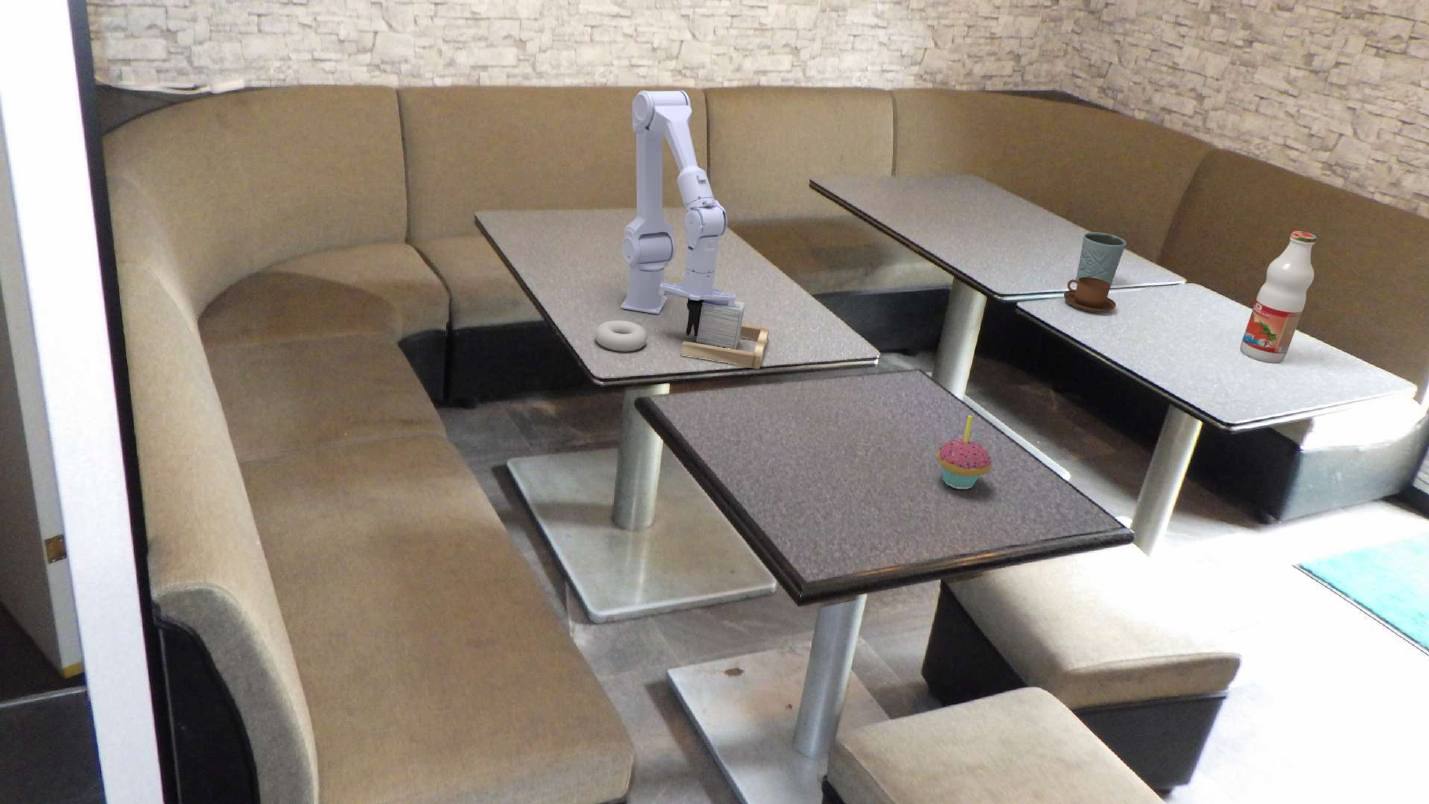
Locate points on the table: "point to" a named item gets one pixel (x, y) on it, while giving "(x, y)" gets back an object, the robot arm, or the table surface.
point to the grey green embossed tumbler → (1100, 256)
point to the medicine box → (720, 324)
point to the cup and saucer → (1090, 295)
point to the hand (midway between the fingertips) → (692, 334)
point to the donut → (621, 336)
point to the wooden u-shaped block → (730, 354)
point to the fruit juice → (1280, 301)
